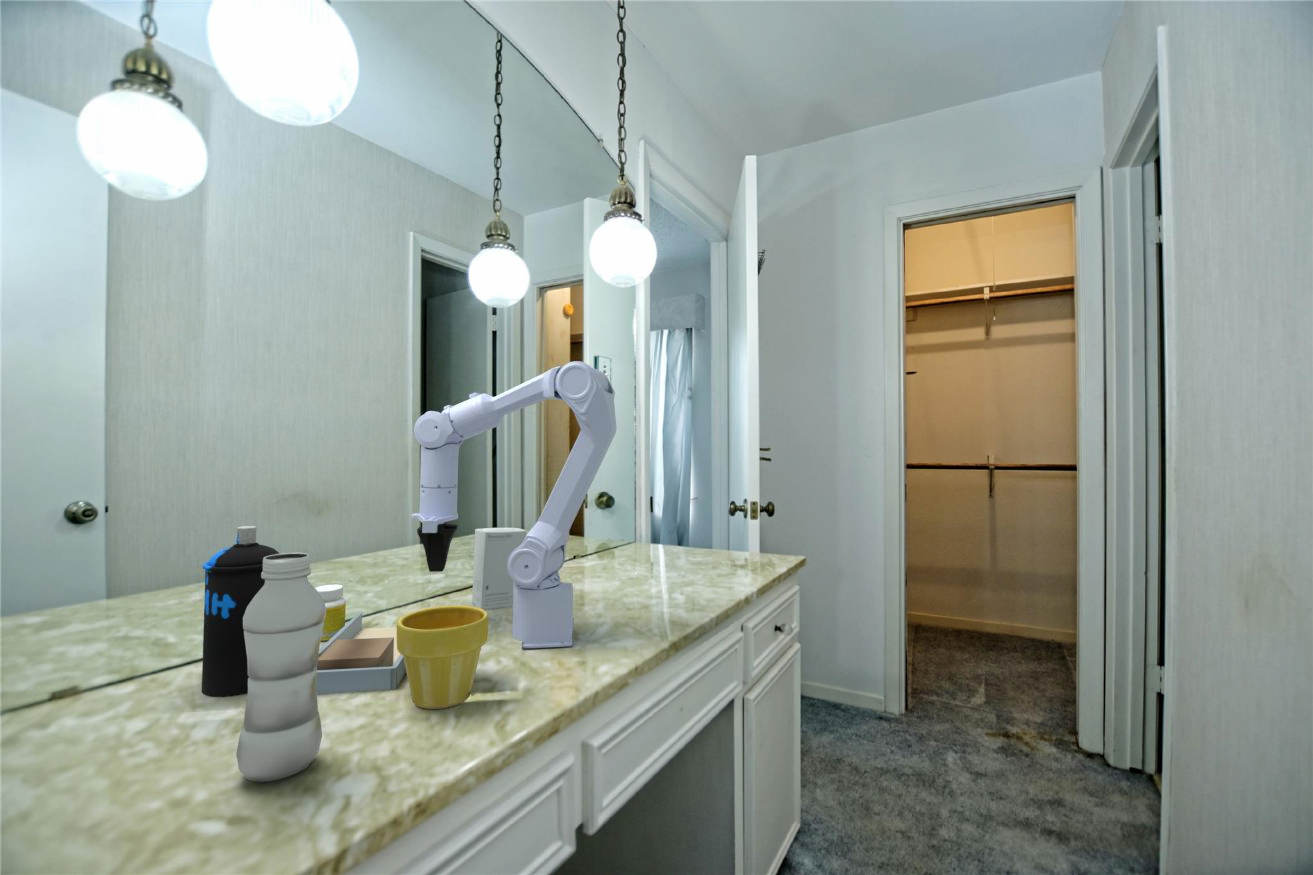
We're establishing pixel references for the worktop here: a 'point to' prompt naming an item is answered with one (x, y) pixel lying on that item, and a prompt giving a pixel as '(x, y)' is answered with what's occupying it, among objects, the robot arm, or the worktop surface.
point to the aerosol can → (230, 613)
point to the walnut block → (358, 654)
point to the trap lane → (361, 676)
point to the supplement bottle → (332, 610)
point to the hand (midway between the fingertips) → (436, 570)
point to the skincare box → (494, 566)
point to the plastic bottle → (282, 671)
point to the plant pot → (441, 652)
